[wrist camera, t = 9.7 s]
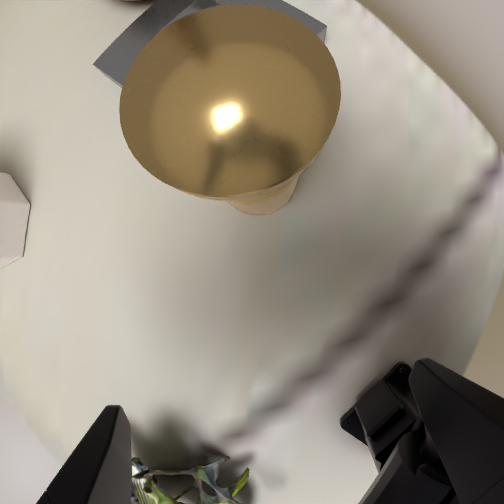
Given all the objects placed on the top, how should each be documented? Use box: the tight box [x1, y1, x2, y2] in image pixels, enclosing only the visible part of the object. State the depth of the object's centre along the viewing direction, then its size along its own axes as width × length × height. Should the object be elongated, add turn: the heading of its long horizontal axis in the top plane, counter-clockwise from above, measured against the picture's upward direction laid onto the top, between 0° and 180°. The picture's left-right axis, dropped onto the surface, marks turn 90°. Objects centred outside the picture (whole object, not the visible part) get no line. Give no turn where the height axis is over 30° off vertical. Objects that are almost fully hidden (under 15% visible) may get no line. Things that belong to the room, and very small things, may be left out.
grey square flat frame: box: [93, 0, 327, 87], centre depth 19 cm, size 12×12×2 cm
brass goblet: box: [119, 4, 341, 215], centre depth 14 cm, size 6×6×13 cm
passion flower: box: [131, 456, 249, 504], centre depth 18 cm, size 11×11×12 cm
